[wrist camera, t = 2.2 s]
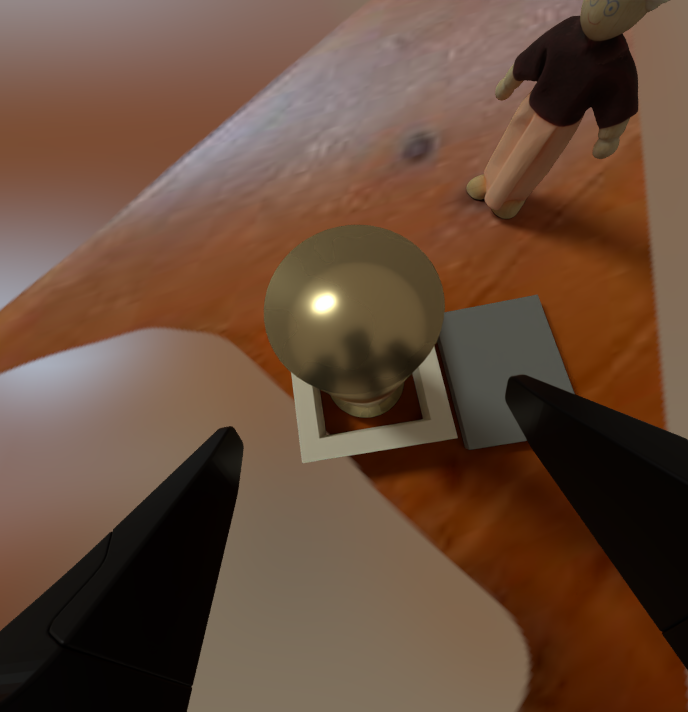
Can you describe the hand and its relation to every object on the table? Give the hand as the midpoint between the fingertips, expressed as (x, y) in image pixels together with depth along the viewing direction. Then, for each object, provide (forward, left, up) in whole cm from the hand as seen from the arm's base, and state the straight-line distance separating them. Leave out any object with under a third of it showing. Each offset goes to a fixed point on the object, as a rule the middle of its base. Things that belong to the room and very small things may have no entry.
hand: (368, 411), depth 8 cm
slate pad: (+1, -9, -10) cm, 13 cm away
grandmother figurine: (+14, -13, -10) cm, 22 cm away
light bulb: (+2, 0, -10) cm, 10 cm away
